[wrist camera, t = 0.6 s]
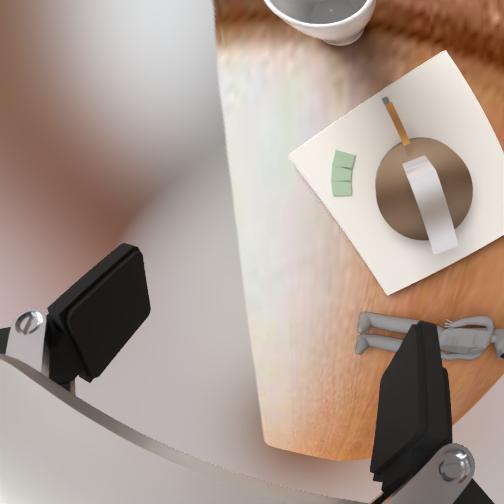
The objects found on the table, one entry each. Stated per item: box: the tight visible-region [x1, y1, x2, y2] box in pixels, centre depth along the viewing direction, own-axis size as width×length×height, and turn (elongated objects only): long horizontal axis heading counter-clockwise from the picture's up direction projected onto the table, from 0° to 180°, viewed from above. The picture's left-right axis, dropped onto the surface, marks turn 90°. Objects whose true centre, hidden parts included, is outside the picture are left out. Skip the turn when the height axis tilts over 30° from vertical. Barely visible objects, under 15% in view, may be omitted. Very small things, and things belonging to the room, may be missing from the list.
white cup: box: [264, 0, 377, 46], centre depth 18 cm, size 7×7×15 cm
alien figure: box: [355, 312, 504, 360], centre depth 36 cm, size 8×5×25 cm
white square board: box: [288, 51, 504, 296], centre depth 29 cm, size 20×20×2 cm
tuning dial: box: [375, 102, 473, 255], centre depth 24 cm, size 14×10×7 cm
